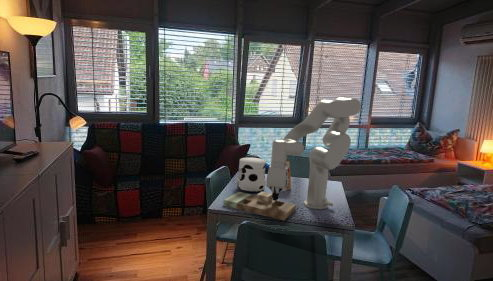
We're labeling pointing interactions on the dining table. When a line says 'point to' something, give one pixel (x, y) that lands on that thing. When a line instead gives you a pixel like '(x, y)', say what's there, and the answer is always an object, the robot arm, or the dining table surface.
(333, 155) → the robot arm
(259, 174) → the milk container
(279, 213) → the wooden puzzle board
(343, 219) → the dining table surface
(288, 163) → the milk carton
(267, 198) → the block
